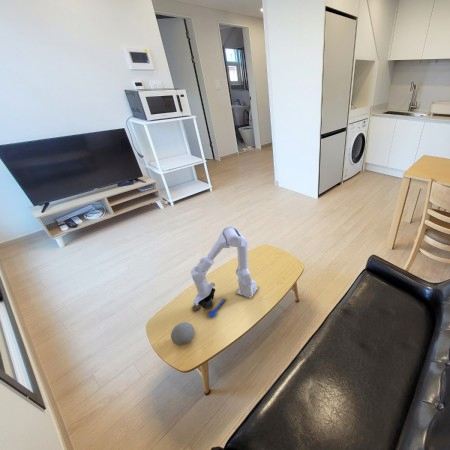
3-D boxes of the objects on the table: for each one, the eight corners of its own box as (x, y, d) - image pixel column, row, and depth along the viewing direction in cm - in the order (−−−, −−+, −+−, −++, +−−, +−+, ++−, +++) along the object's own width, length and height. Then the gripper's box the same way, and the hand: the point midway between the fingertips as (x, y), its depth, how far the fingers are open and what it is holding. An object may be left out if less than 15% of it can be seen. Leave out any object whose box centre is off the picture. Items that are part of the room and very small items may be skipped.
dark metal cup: (215, 302, 132) (213, 296, 129) (209, 310, 128) (206, 304, 125) (207, 299, 134) (205, 293, 131) (201, 307, 130) (198, 300, 127)
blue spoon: (221, 299, 135) (221, 298, 135) (226, 300, 134) (226, 300, 134) (207, 316, 126) (207, 315, 126) (213, 318, 125) (212, 317, 125)
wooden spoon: (206, 293, 139) (205, 292, 138) (211, 295, 138) (210, 294, 137) (191, 309, 130) (190, 308, 129) (196, 311, 128) (196, 310, 128)
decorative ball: (174, 353, 110) (167, 341, 104) (174, 334, 118) (168, 322, 112) (197, 344, 113) (191, 332, 108) (195, 327, 121) (190, 315, 115)
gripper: (205, 274, 130) (210, 291, 137) (185, 294, 118) (192, 311, 126) (216, 278, 127) (220, 295, 135) (197, 298, 116) (203, 315, 124)
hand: (208, 303), depth 130 cm, fingers closed on dark metal cup, 5 cm apart
